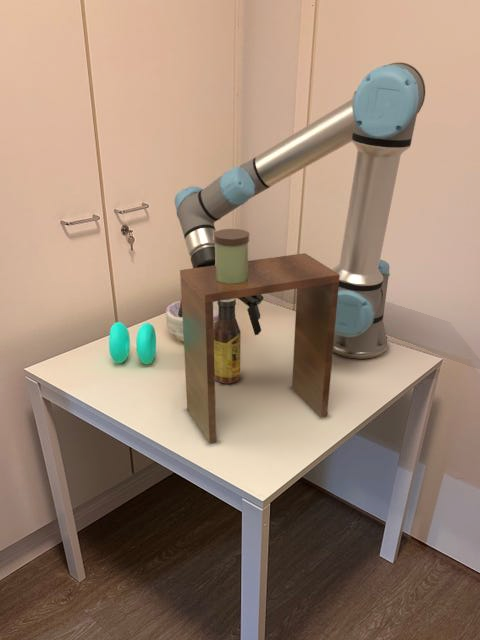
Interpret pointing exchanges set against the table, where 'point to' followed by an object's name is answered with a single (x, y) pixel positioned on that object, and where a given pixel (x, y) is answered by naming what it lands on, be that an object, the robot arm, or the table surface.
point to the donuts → (121, 343)
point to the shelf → (263, 277)
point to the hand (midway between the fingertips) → (230, 338)
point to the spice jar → (231, 255)
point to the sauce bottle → (227, 343)
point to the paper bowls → (176, 322)
